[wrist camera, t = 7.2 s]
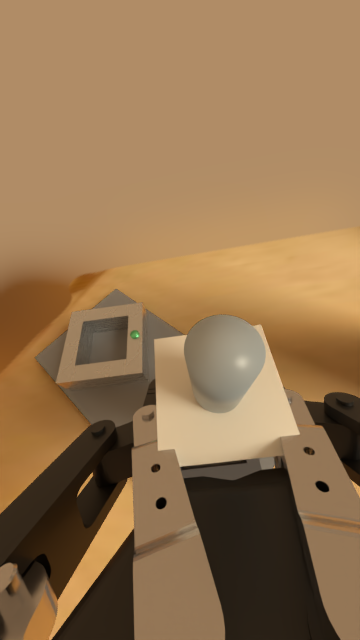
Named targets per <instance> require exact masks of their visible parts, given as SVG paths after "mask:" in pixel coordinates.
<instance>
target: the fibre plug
mask: <svg viewBox="0 0 360 640" xmlns="http://www.w3.org/2000/svg"><path fill="white" fill-rule="evenodd" d="M154 351H155V381H156V410H157V440H158V451H161V450H169V449H175V452H176V456H177V459H178V462H179V466H180V467H183V466H192V465H201V464H210V463H219V462H228V461H237V460H246V459H255V458H264V457H273V456H282V455H283V453H282V446H281V439H280V437H282V436H291V435H300V433H299V430H298V427H297V425H296V422H295V419H294V416H293V413H292V410H291V408H290V405H289V402H288V399H287V396H286V394H285V391H284V388H283V385H282V382H281V379H280V377H279V374H278V371H277V368H276V365H275V362H274V360H273V357H272V354H271V351H270V348H269V345H268V343H267V340H266V337H265V334H264V331H263V328H262V326H261V325H255V326H252V325H251V324H249V323H248V322H246V321H245V320H243V319H241V318H238V317H235V316H231V315H214V316H210V317H207V318H205V319H202V320H201V321H199V322H198V323H196V324H195V325H194V326H193V327H192V328H191V330H190V331H189V333H188V335H182V336H175V337H167V338H160V339H154Z"/></svg>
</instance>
